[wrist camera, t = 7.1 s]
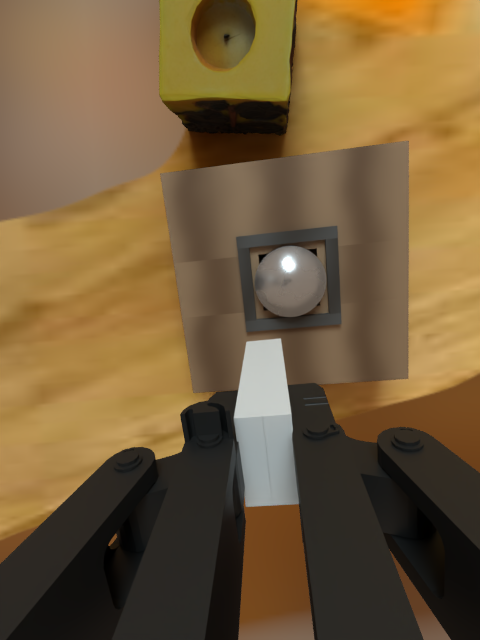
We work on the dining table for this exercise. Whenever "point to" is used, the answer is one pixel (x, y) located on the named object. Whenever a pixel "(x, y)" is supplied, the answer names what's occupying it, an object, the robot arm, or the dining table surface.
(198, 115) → the candle
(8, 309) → the dining table surface
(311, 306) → the grey piece
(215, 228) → the socket block
